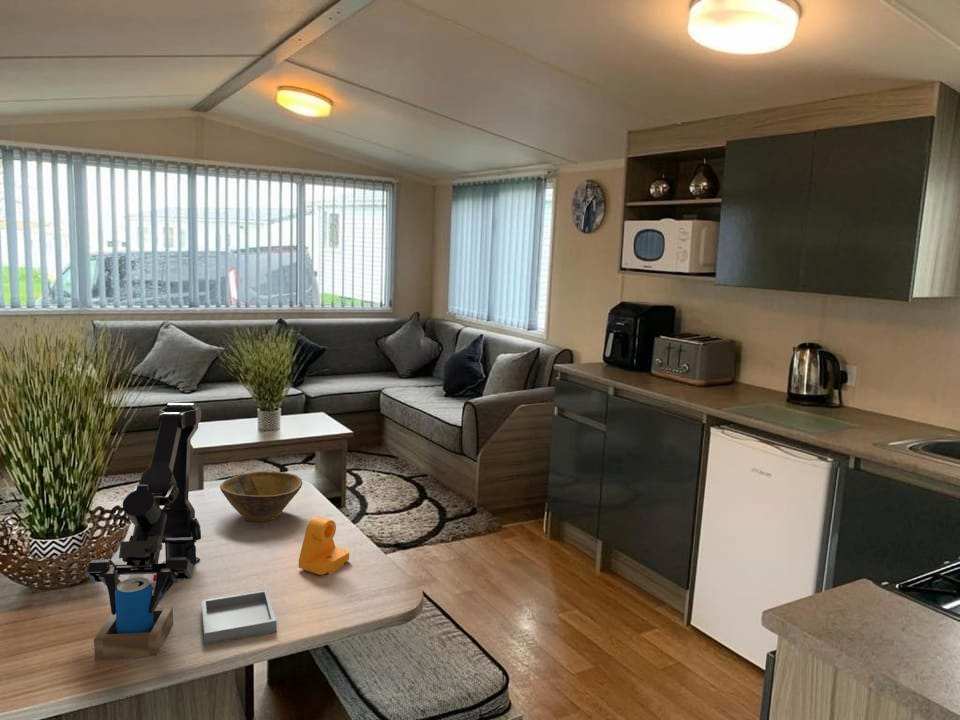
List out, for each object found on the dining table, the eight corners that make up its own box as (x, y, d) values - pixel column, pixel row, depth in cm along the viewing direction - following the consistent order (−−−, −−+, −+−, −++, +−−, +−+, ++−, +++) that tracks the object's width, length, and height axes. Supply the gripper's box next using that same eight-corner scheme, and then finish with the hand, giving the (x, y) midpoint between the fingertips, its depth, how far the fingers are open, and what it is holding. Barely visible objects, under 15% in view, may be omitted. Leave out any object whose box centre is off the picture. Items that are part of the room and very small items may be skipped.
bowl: (278, 495, 215) (278, 465, 213) (315, 518, 199) (315, 485, 197) (208, 511, 200) (207, 478, 199) (242, 538, 184) (241, 502, 182)
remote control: (111, 580, 159) (111, 568, 159) (185, 573, 164) (185, 561, 164) (106, 594, 153) (105, 581, 153) (183, 586, 158) (182, 573, 158)
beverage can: (161, 638, 137) (158, 582, 135) (129, 654, 131) (126, 595, 129) (141, 628, 140) (139, 572, 138) (110, 642, 135) (107, 585, 133)
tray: (204, 645, 135) (204, 633, 135) (201, 611, 147) (201, 600, 147) (276, 631, 141) (276, 620, 140) (267, 600, 153) (267, 589, 152)
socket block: (116, 627, 140) (115, 608, 139) (173, 624, 142) (172, 606, 141) (94, 658, 129) (93, 639, 129) (157, 655, 131) (156, 636, 130)
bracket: (321, 578, 164) (321, 530, 162) (298, 570, 167) (298, 523, 165) (350, 561, 173) (351, 516, 171) (328, 554, 176) (328, 509, 174)
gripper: (86, 521, 134) (65, 603, 125) (187, 519, 137) (174, 598, 128) (103, 542, 143) (85, 620, 134) (198, 540, 146) (186, 615, 137)
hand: (132, 613), depth 133 cm, fingers closed on beverage can, 6 cm apart
